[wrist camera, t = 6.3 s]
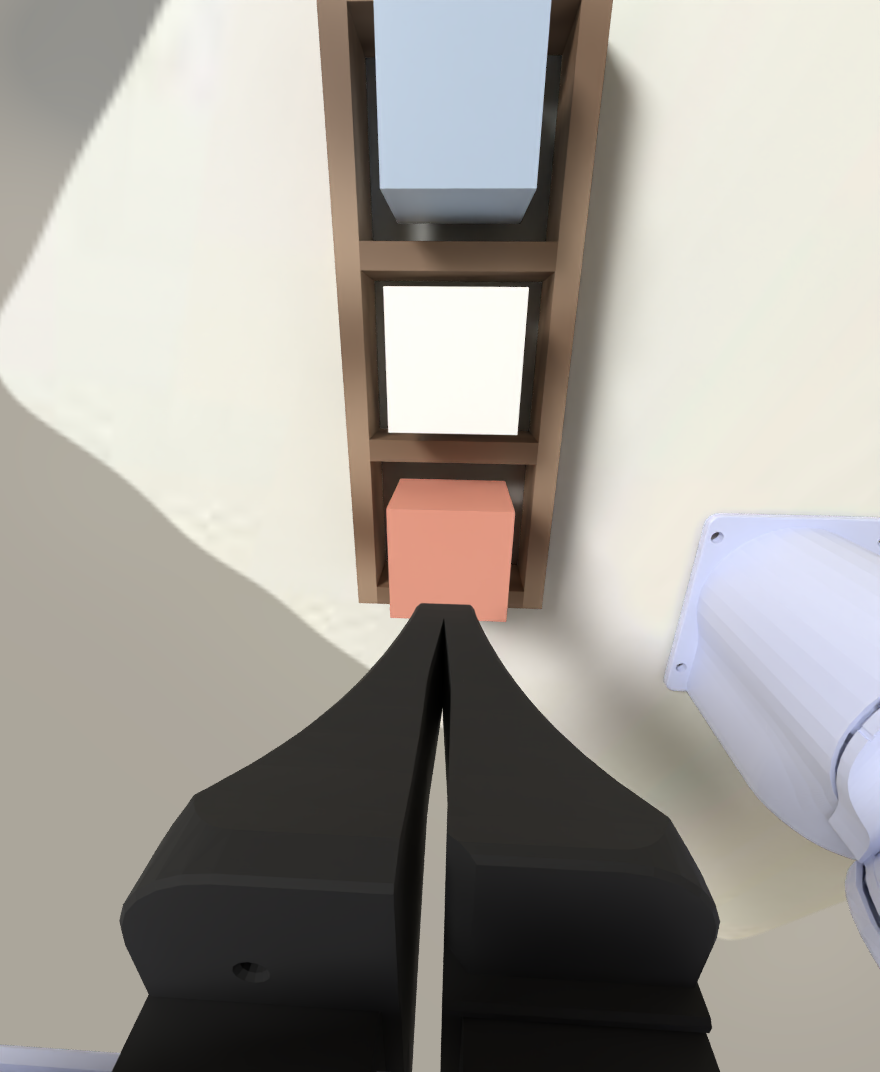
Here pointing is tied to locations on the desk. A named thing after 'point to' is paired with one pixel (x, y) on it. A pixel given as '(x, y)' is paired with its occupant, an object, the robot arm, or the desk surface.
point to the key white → (454, 358)
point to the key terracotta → (450, 545)
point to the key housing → (362, 261)
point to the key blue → (460, 107)
